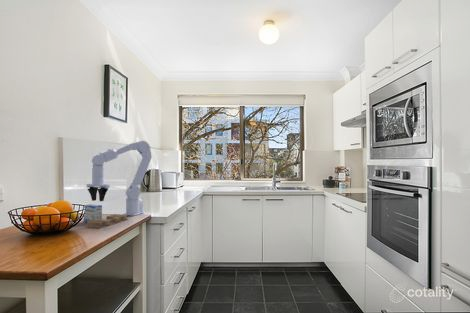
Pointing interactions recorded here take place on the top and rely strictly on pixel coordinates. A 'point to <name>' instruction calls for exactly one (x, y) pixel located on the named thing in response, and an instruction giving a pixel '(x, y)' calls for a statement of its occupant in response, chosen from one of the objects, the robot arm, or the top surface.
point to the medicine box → (93, 212)
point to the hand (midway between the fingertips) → (97, 200)
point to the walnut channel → (106, 221)
